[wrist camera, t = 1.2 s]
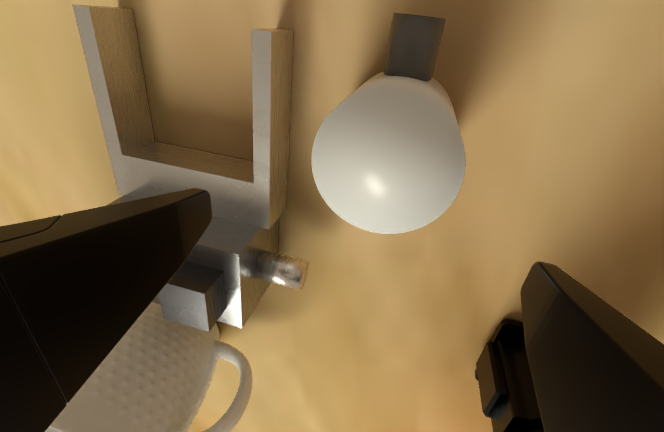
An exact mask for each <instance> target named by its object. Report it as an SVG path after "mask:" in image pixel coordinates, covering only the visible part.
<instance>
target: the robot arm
mask: <svg viewBox="0 0 664 432" xmlns="http://www.w3.org/2000/svg"><path fill="white" fill-rule="evenodd" d="M211 220H212V207H211V197H210V193H209V192H208V191H207V190H203V189H199V188H191V189H187V190H182V191H177V192H172V193H167V194H162V195H157V196H152V197H147V198H142V199H137V200H132V201H127V202H123V203H118V204H113V205H108V206H103V207H98V208H93V209H88V210H83V211H78V212H73V213H68V214H64V215H62V216H61V215H58V216H53V217H48V218H43V219H38V220H33V221H28V222H23V223H17V224H12V225H6V226H0V432H45V431H46V430H47V429H48V428H49V426H50V425H51V424H52V423H53V421H54V420H55V419H56V418H57V417H58V415H59V414H60V413H61V412H62V411H63V409H64V408H65V407H66V405H67V404H66V403H69V402H70V400H71V399H72V398H73V397H74V396H75V394H76V393H77V392H78V391H79V390H80V388H81V387H82V386H83V385H84V383H85V382H86V381H87V380H88V379H89V377H90V376H91V375H92V374H93V373H94V371H95V370H96V369H97V368H98V366H99V365H100V364H101V363H102V362H103V360H104V359H105V358H106V357H107V356H108V354H109V353H110V352H111V351H112V350H113V348H114V347H115V346H116V345H117V343H118V342H119V341H120V340H121V339H122V337H123V336H124V335H125V334H126V333H127V331H128V330H129V329H130V328H131V326H132V325H133V324H134V323H135V322H136V320H137V319H138V318H139V317H140V316H141V314H142V313H143V312H144V311H145V309H146V308H147V307H148V306H149V305H150V303H151V302H152V301H153V300H154V299H155V297H156V296H157V295H158V294H159V292H160V291H161V290H162V289H163V288H164V286H165V285H166V284H167V283H168V282H169V280H170V279H171V278H172V277H173V275H174V274H175V273H176V272H177V271H178V269H179V268H180V267H181V266H182V264H183V263H184V262H185V260H186V259H187V258H188V256H189V255H190V253H191V252H192V250H193V249H194V247H195V246H196V244H197V243H198V241H199V240H200V238H201V236H202V235H203V233H204V232H205V230H206V229H207V227H208V226H209V224H210V222H211ZM521 304H522V315H523V323H522V322H518V321H514V320H509V319H506V320H503V321H501V323H500V324H499V326H498V328H497V330H496V332H495V334H494V336H493V338H492V340H491V341H489V342H487V343H486V345H485V347H484V349H483V351H482V353H481V355H480V357H479V359H478V361H477V363H476V366H477V369H476V370H475V378H476V379H477V380H478V381H479V388H480V396H481V403H482V410H483V413H484V415H485V416H486V417H489V418H491V421H492V427H493V432H664V344H662V343H661V342H660V341H658V340H657V339H655V338H654V337H653V336H651V335H650V334H649V333H647V332H646V331H645V330H643V329H642V328H640V327H639V326H638V325H636V324H635V323H634V322H632V321H631V320H629V319H628V318H627V317H625V316H624V315H623V314H621V313H620V312H619V311H617V310H616V309H614V308H613V307H612V306H610V305H609V304H608V303H606V302H605V301H603V300H602V299H601V298H599V297H598V296H597V295H595V294H594V293H593V292H591V291H590V290H588V289H587V288H586V287H584V286H583V285H582V284H580V283H579V282H578V281H576V280H575V279H573V278H572V277H571V276H569V275H568V274H567V273H565V272H564V271H562V270H561V269H560V268H558V267H557V266H555V265H553V264H549V263H544V262H536V263H534V265H533V266H532V268H531V270H530V272H529V274H528V276H527V278H526V279H525V281H524V283H523V285H522V288H521ZM507 326H511V327H507Z"/></svg>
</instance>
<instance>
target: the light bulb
mask: <svg viewBox="0 0 664 432" xmlns="http://www.w3.org/2000/svg"><path fill="white" fill-rule="evenodd" d="M445 20H446V19H441V18H434V17H426V16H418V15H409V14H399V13H394V14H393V20H392V26H391V31H390V37H389V43H388V49H387V55H386V61H385V66H384V71H383V72H380V73H378V74H376V75H374V76H373V77H371V78H370V79H369V80H367V81H366V82H365V83H364V84H363V85H361V86H360V87H359V88H358V89H357V90H355V91H354V92H353V93H352V94H351V95H350V96H348V97H347V98H346V99H345V100H344V101H343V102H341V103H340V104H339V105H338V106H337V107H336V108H335V109H333V110H332V111H331V112H330V113H329V115H328V116H327V117H326V118H325V120H324V121H323V123H322V124H321V126H320V128H319V130H318V132H317V134H316V137H315V140H314V143H313V148H312V159H311V164H312V173H313V177H314V181H315V183H316V186H317V188H318V191H319V192H320V194H321V196H322V198H323V199H324V201H325V202H326V203H327V205H328V206H329V207H330V208H331V209H332V210H333V211H334V212H335V213H336V214H337V215H338V216H339V217H341V218H342V219H344V220H345V221H346V222H348V223H350V224H352V225H354V226H356V227H358V228H361V229H363V230H367V231H370V232H375V233H382V234H398V233H404V232H409V231H413V230H416V229H419V228H421V227H423V226H426V225H427V224H429V223H431V222H433V221H434V220H435V219H437V218H438V217H439V216H441V215H442V214H443V213H444V212H445V211H446V210H447V209H448V208H449V206H450V205H451V204H452V203H453V201H454V200H455V198H456V196H457V195H458V193H459V190H460V188H461V186H462V183H463V179H464V175H465V166H466V159H465V150H464V145H463V141H462V137H461V134H460V130H459V127H458V123H457V120H456V116H455V112H454V109H453V105H452V103H451V100H450V97H449V95H448V94H447V92H446V90H445V89H444V88H443V86H442V85H441V84H440V83H439V82H438V81H437V80H436V79H434V78H433V77H432V74H433V69H434V65H435V61H436V57H437V53H438V49H439V44H440V40H441V36H442V32H443V28H444V24H445Z"/></svg>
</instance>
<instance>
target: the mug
mask: <svg viewBox="0 0 664 432" xmlns="http://www.w3.org/2000/svg"><path fill="white" fill-rule="evenodd" d="M217 359H224V360H227V361H230V362H232V363H233V364H235V365H236V366H237V367H238V369H239V371H240V386H239V389H238V392H237V394H236V397H235V399H234V401H233V402H232V404H231V406H230V407H229V409H228V410H227V412H226V413H225V414H224V415H223V416H222V417H221V419H220V420H219V421H218V422H217V423H215V424H214V425H213V426H212V427H210V428H209V429H207V430H205V431H203V432H231V431H232V430H233V428H234V427H235V426H236V424H237V423H238V421H239V420H240V418H241V416H242V415H243V413H244V411H245V408H246V406H247V404H248V401H249V398H250V394H251V389H252V371H251V367H250V364H249V362H248V360H247V358H246V357H245V356H244V354H243V353H241V352H240V351H239V350H238V349H236V348H234V347H233V346H231V345H229V344H226V343H224V342H221V341H220V334H219V329H218V326H217V323H215V325H214V326H213V327H212V329H211V330H210V332H207V331H204V330H200V329H197V328H194V327H190V326H187V325H184V324H180V323H177V322H174V321H170V320H167V319H164V318H163V314H162V309H161V305H160V304H157V303H154V302H151V303H150V305H149V306H148V307H147V308H146V309H145V311H144V312H143V313H142V314H141V316H140V317H139V318H138V319H137V320H136V322H135V323H134V324H133V325H132V326H131V328H130V329H129V330H128V331H127V333H126V334H125V335H124V336H123V337H122V339H121V340H120V341H119V342H118V343H117V345H116V346H115V347H114V348H113V350H112V351H111V352H110V353H109V354H108V356H107V357H106V358H105V359H104V360H103V362H102V363H101V364H100V365H99V366H98V368H97V369H96V370H95V371H94V373H93V374H92V375H91V376H90V377H89V379H88V380H87V381H86V382H85V383H84V385H83V386H82V387H81V388H80V390H79V391H78V392H77V393H76V394H75V396H74V397H73V398H72V399H71V400H70V402H69V403H66V404H67V405H66V407H65V408H64V409H63V411H62V412H61V413H60V414H59V415H58V417H57V418H56V419H55V420H54V421H53V423H52V424H51V425H50V426H49V428H48V429H47V430H46V431H45V432H188V430H189V428H190V425H191V424H192V422H193V420H194V418H195V416H196V415H197V413H198V410H199V408H200V406H201V404H202V402H203V400H204V398H205V395H206V392H207V390H208V387H209V385H210V382H211V380H212V376H213V373H214V371H215V367H216V363H217Z"/></svg>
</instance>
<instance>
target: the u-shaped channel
mask: <svg viewBox="0 0 664 432" xmlns="http://www.w3.org/2000/svg"><path fill="white" fill-rule="evenodd" d="M73 9H74V13H75V18H76V22H77V26H78V30H79V34H80V38H81V42H82V46H83V50H84V54H85V58H86V62H87V67H88V71H89V75H90V79H91V83H92V87H93V91H94V95H95V99H96V103H97V107H98V111H99V116H100V120H101V124H102V128H103V132H104V136H105V140H106V144H107V148H108V152H109V156H110V160H111V164H112V169H113V173H114V177H115V181H116V185H117V189H118V193H119V194H122V195H124V196H123V197H121V198H119V199H117V200H115V201H113V202H112V203H110V204H108V205H113V204H118V203H123V202H127V201H132V200H137V199H142V198H147V197H152V196H157V195H162V194H167V193H172V192H177V191H182V190H187V189H191V188H199V189H203V190H207V191H208V192H209V193H210V197H211V207H212V220H211V222H210V224H209V226H208V227H207V229H206V230H205V232H204V233H203V235H202V236H201V238H200V240H199V241H198V243H197V244H196V246H195V247H194V249H193V250H192V252H191V253H190V255H189V256H188V258H187V259H186V260H185V262H184V263H183V264H182V266H181V267H180V268H179V269H178V271H177V272H176V273H175V274H174V275H173V277H172V278H171V279H170V280H169V282H168V283H167V284H166V285H165V286H164V288H163V289H162V290H161V291H160V292H159V294H158V295H157V296H156V297H155V299H154V300H153V301H152V302H154V303H157V304H160V305H161V309H162V314H163V318H164V319H167V320H170V321H174V322H177V323H180V324H184V325H187V326H190V327H194V328H197V329H200V330H204V331H207V332H210V330H211V329H212V327H213V326H214V325H215V323H216V322H217V321H219V322H222V323H226V324H229V325H232V326H236V327H239V328H243V326H244V324H245V323H246V321H247V320H248V318H249V316H250V315H251V313H252V312H253V310H254V308H255V307H256V305H257V304H258V302H259V300H260V299H261V297H262V296H263V294H264V292H265V291H266V289H267V288H268V286H269V284H270V283H274V284H277V285H281V286H285V287H289V288H293V289H296V290H301V289H302V287H303V285H304V282H305V280H306V276H307V272H308V261H307V260H303V259H299V258H295V257H291V256H287V255H283V254H279V253H278V242H279V216H280V215H281V214H282V212H283V211H284V210H285V209H286V201H287V177H288V153H289V129H290V106H291V82H292V58H293V34H294V31H290V30H283V29H251V33H252V102H253V161H249V160H244V159H239V158H234V157H230V156H225V155H220V154H215V153H210V152H205V151H200V150H195V149H190V148H186V147H181V146H176V145H171V144H166V143H161V142H156V141H155V140H154V134H153V128H152V122H151V116H150V110H149V104H148V98H147V92H146V86H145V80H144V74H143V68H142V62H141V56H140V51H139V45H138V39H137V33H136V27H135V21H134V15H133V9H126V8H119V7H104V6H88V5H73ZM108 205H106V206H108Z"/></svg>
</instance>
